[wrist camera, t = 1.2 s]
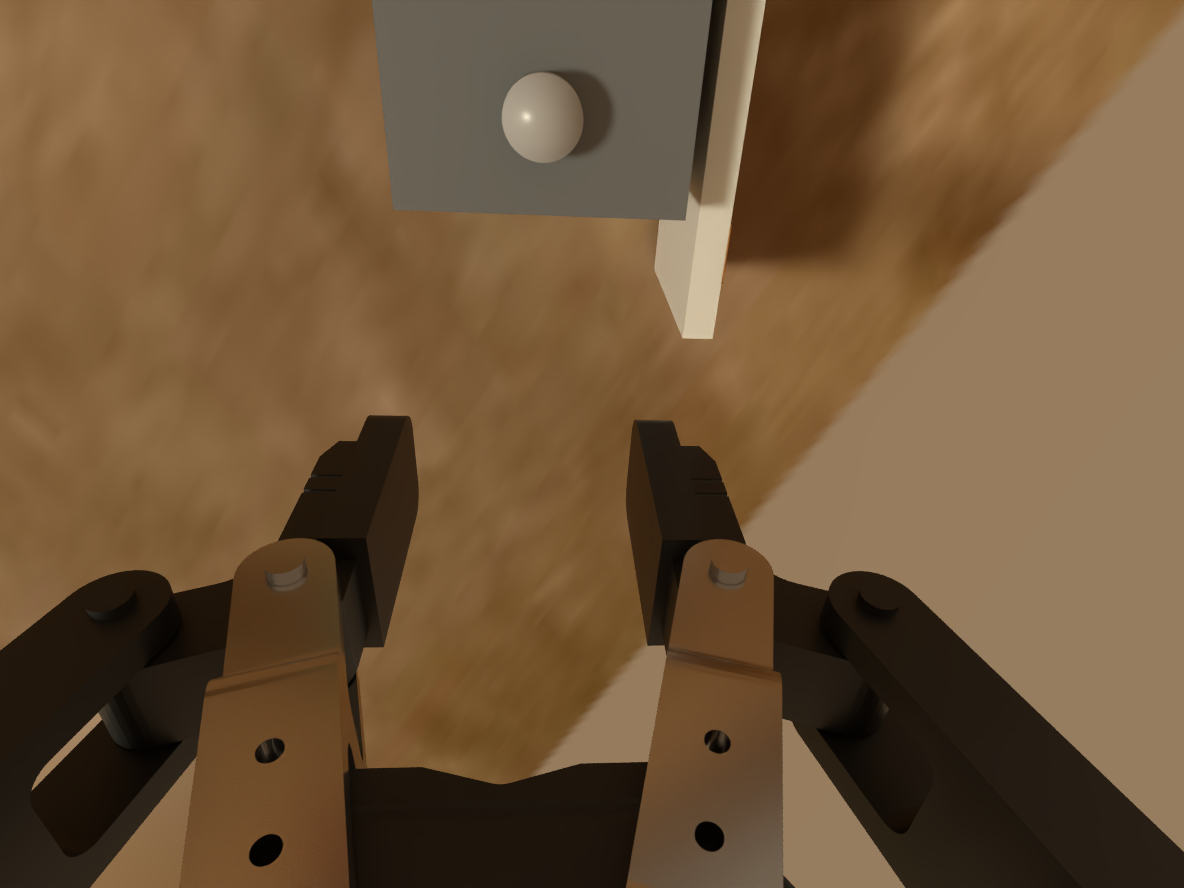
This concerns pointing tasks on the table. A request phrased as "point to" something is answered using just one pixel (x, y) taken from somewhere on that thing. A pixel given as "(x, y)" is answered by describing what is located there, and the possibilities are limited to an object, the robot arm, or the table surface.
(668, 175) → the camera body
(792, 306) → the table surface
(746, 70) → the side door
